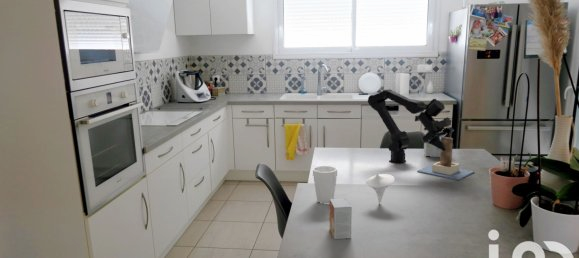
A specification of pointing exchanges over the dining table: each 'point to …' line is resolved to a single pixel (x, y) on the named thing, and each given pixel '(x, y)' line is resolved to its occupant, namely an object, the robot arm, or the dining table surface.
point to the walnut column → (446, 152)
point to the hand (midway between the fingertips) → (449, 149)
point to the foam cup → (325, 182)
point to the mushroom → (380, 183)
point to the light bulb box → (431, 150)
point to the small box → (340, 218)
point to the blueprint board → (454, 176)
